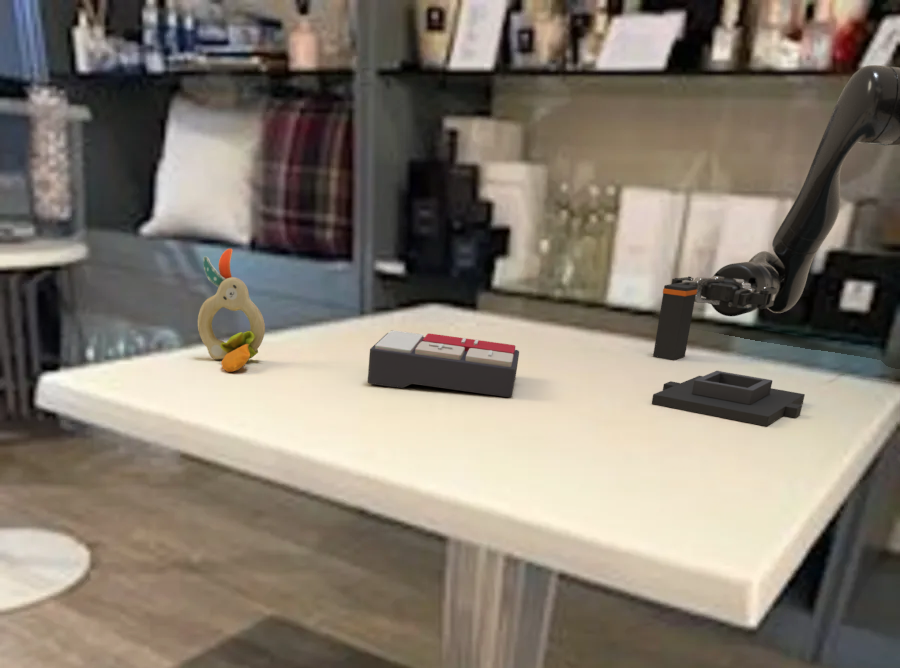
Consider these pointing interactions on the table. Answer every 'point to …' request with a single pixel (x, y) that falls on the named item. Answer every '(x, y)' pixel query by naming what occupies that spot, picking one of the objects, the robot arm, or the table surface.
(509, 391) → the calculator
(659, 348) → the dark grey block
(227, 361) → the rattle
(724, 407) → the base pad
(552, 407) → the table surface
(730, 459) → the table surface
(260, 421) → the table surface
